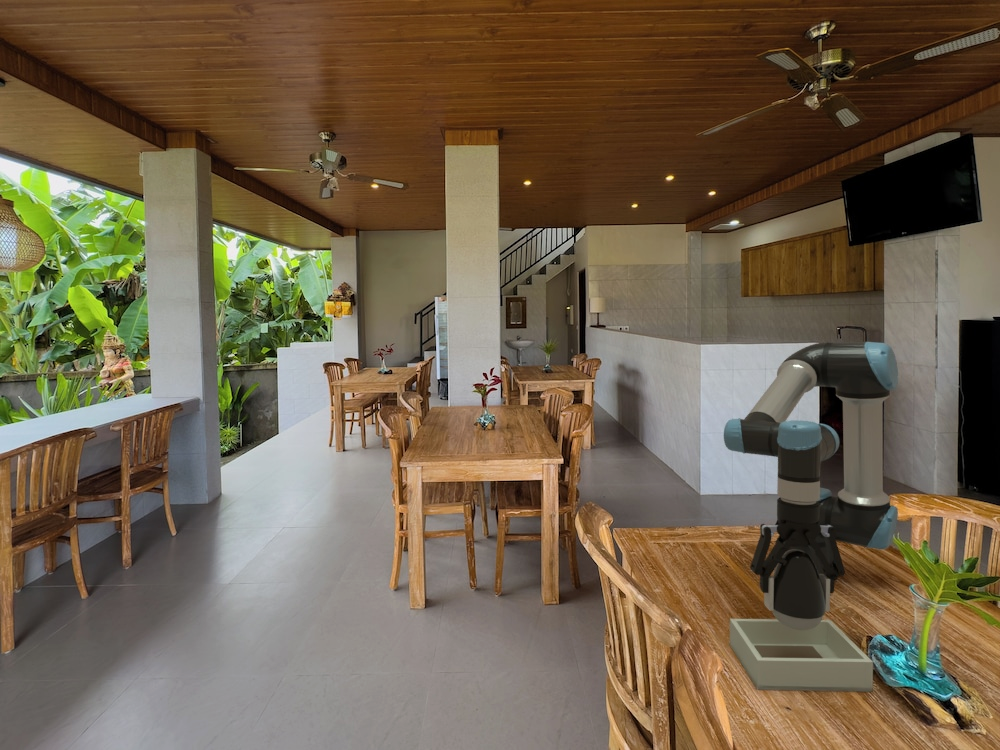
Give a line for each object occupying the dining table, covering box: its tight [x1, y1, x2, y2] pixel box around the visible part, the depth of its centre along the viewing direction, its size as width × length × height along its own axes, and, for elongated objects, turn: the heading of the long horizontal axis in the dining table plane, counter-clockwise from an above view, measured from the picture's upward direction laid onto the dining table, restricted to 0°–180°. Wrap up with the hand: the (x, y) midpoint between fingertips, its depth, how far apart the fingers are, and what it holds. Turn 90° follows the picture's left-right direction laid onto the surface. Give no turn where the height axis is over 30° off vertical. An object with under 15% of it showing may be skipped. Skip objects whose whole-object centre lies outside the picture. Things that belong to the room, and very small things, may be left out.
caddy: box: [729, 618, 874, 693], centre depth 117 cm, size 21×16×6 cm
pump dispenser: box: [771, 549, 827, 630], centre depth 116 cm, size 10×10×15 cm
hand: (796, 607), depth 116 cm, fingers closed on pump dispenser, 10 cm apart
